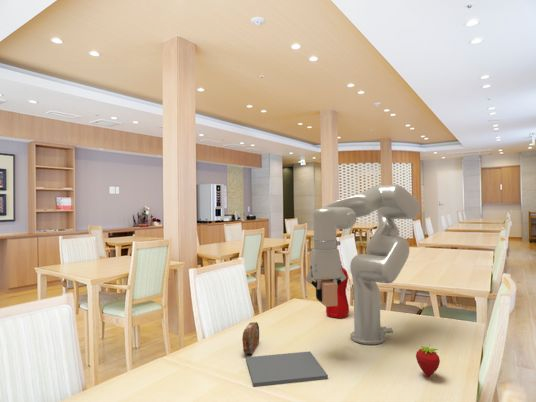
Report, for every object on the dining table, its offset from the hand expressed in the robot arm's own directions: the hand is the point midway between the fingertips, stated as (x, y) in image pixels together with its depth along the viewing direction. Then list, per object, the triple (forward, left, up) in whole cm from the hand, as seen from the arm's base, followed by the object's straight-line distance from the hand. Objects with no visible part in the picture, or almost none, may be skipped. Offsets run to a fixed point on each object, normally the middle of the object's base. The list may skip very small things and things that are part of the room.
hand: (326, 299), depth 125 cm
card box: (0, 0, -1) cm, 1 cm away
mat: (+16, +6, -19) cm, 26 cm away
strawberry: (-24, +20, -19) cm, 37 cm away
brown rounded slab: (+24, -12, -19) cm, 33 cm away
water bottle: (-20, -41, -19) cm, 49 cm away
